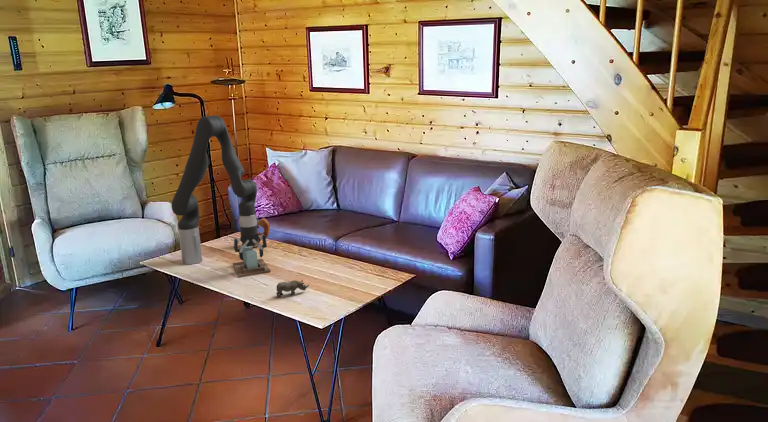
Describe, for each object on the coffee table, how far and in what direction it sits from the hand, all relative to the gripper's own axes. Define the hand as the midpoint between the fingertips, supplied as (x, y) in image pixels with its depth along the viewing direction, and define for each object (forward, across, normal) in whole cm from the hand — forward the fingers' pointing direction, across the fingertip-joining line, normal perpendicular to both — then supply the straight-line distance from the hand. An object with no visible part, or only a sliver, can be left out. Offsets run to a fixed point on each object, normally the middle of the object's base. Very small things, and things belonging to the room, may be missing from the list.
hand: (251, 258), depth 260 cm
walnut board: (+6, 0, -4) cm, 7 cm away
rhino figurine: (+6, -10, +35) cm, 37 cm away
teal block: (+5, 0, 0) cm, 5 cm away
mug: (+6, -9, -36) cm, 37 cm away
